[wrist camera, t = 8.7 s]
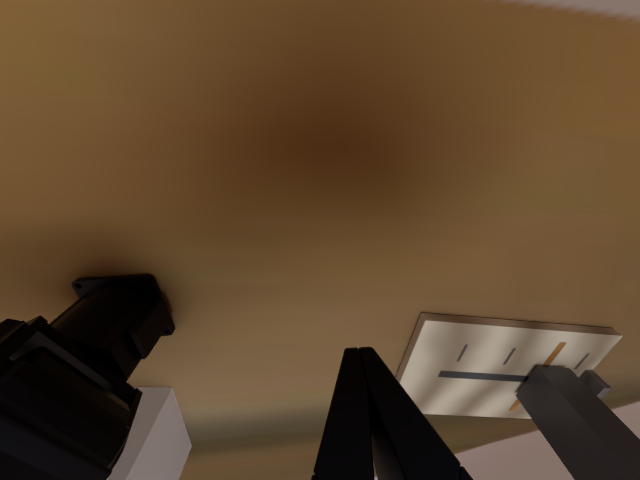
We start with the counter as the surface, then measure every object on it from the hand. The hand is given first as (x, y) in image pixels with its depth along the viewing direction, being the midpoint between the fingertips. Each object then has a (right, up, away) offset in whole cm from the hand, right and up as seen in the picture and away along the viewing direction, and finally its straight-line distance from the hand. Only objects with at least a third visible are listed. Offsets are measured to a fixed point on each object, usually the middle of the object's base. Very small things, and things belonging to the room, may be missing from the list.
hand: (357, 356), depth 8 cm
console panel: (+17, -10, +21) cm, 29 cm away
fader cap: (+22, -12, +20) cm, 32 cm away
